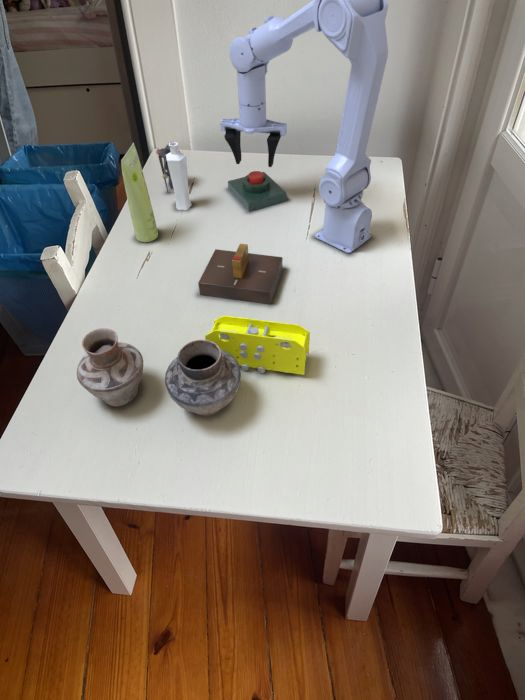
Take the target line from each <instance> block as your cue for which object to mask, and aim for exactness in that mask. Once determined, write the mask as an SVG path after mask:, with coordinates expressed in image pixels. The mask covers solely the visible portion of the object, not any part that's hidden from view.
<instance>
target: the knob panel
mask: <svg viewBox="0 0 525 700" xmlns="http://www.w3.org/2000/svg"><path fill="white" fill-rule="evenodd" d="M235 253H236V251H235V250H234V251H232V250H224V249H217V248H215V249H214V251H213V253H212V255H211V257H210V259H209V261H208V263H207V265H206V267H205V269H204V271H203V272H202V275H201V277H200V279H199V280H198V282H197V283H198V289H199V295H200V296H207V297H212V298H213V297H214V298H221V299H228V300H236V301H243V302H250V303H258V304H265V305H271V304H272V301H273V299H274V296H275V293H276V291H277V290H276V289H277V287H278V284H279V280H280V278H281V275H282V272H283V257H282V256H276V255H275V256H274V255H268V254H267V255H266V254H259V253H250V252H248V255H249V262H248V265H247V267H246V269H245V272H244V274H243V276H242V278H234V276H233V265H232V260H233V257H234V255H235Z"/></svg>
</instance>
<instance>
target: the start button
mask: <svg viewBox="0 0 525 700" xmlns="http://www.w3.org/2000/svg"><path fill="white" fill-rule="evenodd" d="M262 172H263V171H259V170H253V171H250V172H249V173H248V174H247V175H248V177H249V183H251V184H261V183H263V182H264V174H263V173H262Z"/></svg>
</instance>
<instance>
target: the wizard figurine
mask: <svg viewBox="0 0 525 700" xmlns="http://www.w3.org/2000/svg"><path fill="white" fill-rule="evenodd" d="M171 142H172V141H170V142H169V143H171ZM169 143H167V144H166V146H165V147H164V148H163V147H162V148H157V149H156V151H155V153H156V155H157V157H158V160H159V165H160V169H161V172H162V176H161V177H162V178H163V181H164V184H165V188H166V192H167V193H169V189H168V186H169V188H170V189H171V190H174V188H173V184H172V180H171V176H170V172H169V168H168V163H167V159H166V154H168V153H170V146H169ZM179 152H180V153H181V151H180V150H179ZM167 179H168V183H167Z"/></svg>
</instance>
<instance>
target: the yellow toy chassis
mask: <svg viewBox="0 0 525 700" xmlns="http://www.w3.org/2000/svg"><path fill="white" fill-rule="evenodd" d="M310 336H311V332H310V331H309V330H308V329H306V328H304V327H303V326H301V325H300V324H295V323H287V322H281V321H271V320H263V319H257V318H247V317H239V316H232V315H222V316H219V317H218V318H215V319H213V325H212V328H211V331H210V332H208V333H206V334H205V335H204V338H205V339H204V340H209V341H212V342H214V343H216V344H217V345H218V346H219V348H220V349H221V350H224V351H226V352H228V353H230V354H231V355H232V356H233V357H234V358H235V359H236V360H237V361H238V363H239V366H240V369H241V370H242V371H245V372H247V371H249V369H250V368H253V369H257V372H258V373H260V374H264V373H265V371H266V370H267V371H273V372H281V373H285V374H293V375H302V376H304V375H305V374H306V373H305V371H306V362H307V357H308V356H307V355H309V353H310V338H311V337H310Z"/></svg>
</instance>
